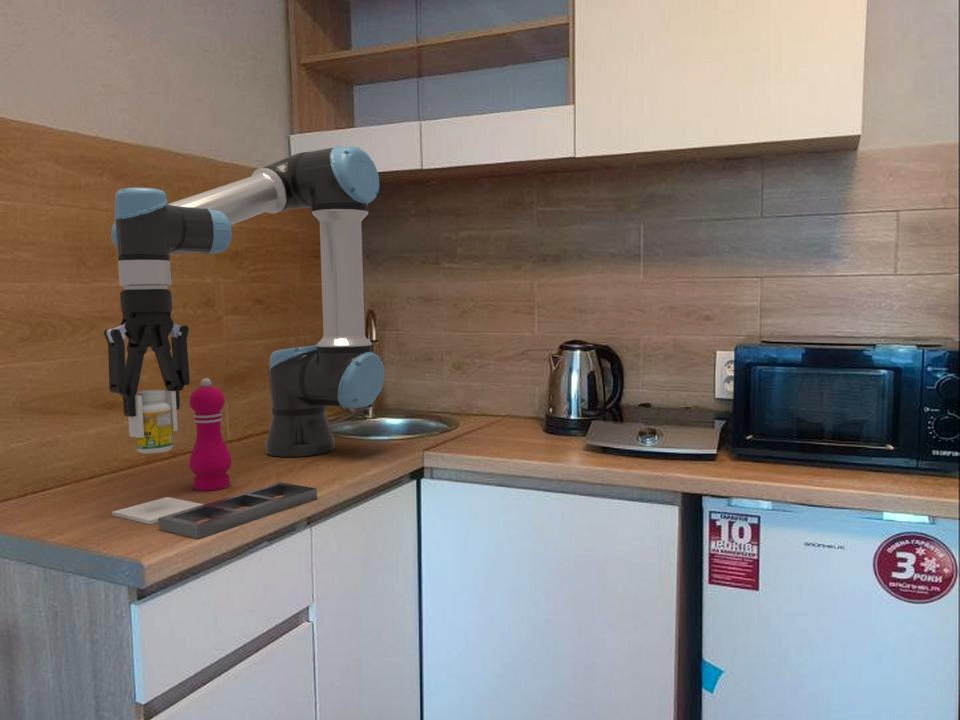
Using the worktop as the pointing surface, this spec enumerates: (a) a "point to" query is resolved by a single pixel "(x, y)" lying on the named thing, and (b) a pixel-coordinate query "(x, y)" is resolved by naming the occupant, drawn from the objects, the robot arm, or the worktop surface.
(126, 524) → the worktop surface
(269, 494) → the rack frame
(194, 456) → the pepper mill
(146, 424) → the supplement bottle
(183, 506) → the white mat
